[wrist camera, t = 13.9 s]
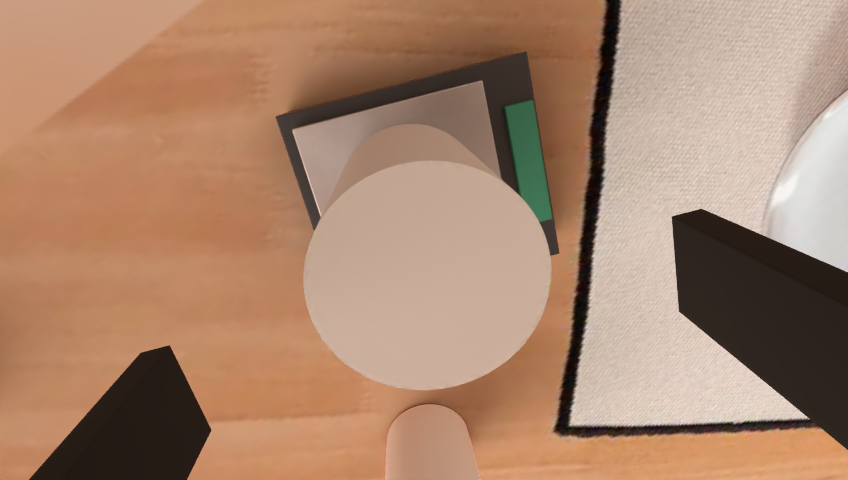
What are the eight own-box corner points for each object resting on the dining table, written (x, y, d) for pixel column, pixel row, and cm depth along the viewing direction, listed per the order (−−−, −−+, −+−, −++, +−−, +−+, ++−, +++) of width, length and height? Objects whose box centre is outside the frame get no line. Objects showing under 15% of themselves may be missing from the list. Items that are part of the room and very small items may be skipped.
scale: (286, 112, 29) (273, 117, 26) (513, 54, 29) (529, 51, 26) (344, 289, 33) (339, 313, 30) (544, 238, 33) (562, 256, 30)
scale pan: (294, 127, 26) (291, 129, 26) (479, 79, 26) (482, 79, 26) (349, 296, 30) (348, 301, 29) (513, 253, 30) (517, 258, 29)
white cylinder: (412, 291, 29) (429, 429, 18) (307, 200, 27) (250, 291, 16) (512, 195, 28) (600, 278, 16) (410, 90, 25) (428, 102, 14)
